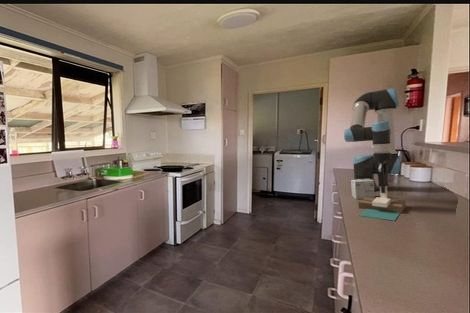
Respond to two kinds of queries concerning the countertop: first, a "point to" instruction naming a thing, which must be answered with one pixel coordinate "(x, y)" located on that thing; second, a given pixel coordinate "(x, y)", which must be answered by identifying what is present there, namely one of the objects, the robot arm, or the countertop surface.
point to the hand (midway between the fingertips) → (384, 198)
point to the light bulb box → (362, 188)
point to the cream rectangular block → (381, 202)
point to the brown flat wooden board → (392, 207)
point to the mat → (380, 214)
